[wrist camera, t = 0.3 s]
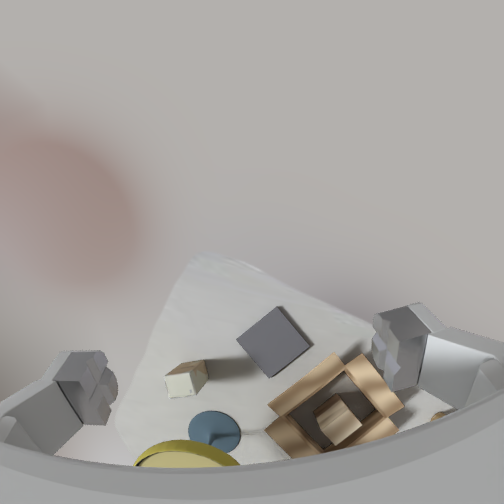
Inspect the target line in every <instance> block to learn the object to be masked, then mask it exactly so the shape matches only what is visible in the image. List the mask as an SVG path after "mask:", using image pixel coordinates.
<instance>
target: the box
mask: <svg viewBox="0 0 504 504" xmlns="http://www.w3.org/2000/svg"><path fill="white" fill-rule="evenodd" d="M208 379H209V377H208V373H207V369H206V365H205V362H204V360H198V361H192V362H186V363H181V364H180V365H179V366H177V367H176V368H175V369H173V370H172V371H171V372H169V373H168V374H167V375H165V376H164V380H165V384H166V388H167V392H168V395H169V398H170V399H174V398H182V397H189V396H195V395H197V394H198V392H199V391H200V390H201V388H202V387H203V386H204V384H205V383H206V382H207V381H208Z"/></svg>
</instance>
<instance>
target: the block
mask: <svg viewBox="0 0 504 504" xmlns="http://www.w3.org/2000/svg"><path fill="white" fill-rule="evenodd" d="M313 412H314V415H315V417H316V419H317V422H318V424H319V427H320V429H321V431H322V432H323V433H324V434H325V435H326V436H327V437H328V438H329V439H330V440H331V441H332V442H333V443H334V445H335V446H336V445H337V444H338V443H340V442H341V441H342V440H344V439H345V438H346V437H348V436H349V435H350V434H352V433H353V432H354V431H355V430H357V429H358V428H359V427H360V426H362V424H361V423H360V421H359V420H358V419H357V417H356V416H355V415H354V413H353V412H352V411H351V410H350V408H349V407H348V406H347V405H346V404H345V402H344V401H343V400H342V399H341V398H340V397H339V395H338V394H337V393H336V394H335V395H334V396H332V397H331V398H330V399H329V400H327V401H326V402H325V403H324V404H322V405H321V406H320V407H318V408H317V409H316V410H315V411H313Z"/></svg>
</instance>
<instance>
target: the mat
mask: <svg viewBox="0 0 504 504" xmlns="http://www.w3.org/2000/svg"><path fill="white" fill-rule="evenodd" d="M236 340H237V341H238V343H239V344H240V345H241V346H242V347H243V349H244V350H245V351H246V352H247V353H248V354H249V356H250V357H251V358H252V359H253V360H254V362H255V363H256V364H257V365H258V366H259V367H260V368H261V370H262V371H263V372H264V373H265V374H266V375H267V377H268V378H271V377H272V376H273V375H274V374H276V373H277V372H278V371H280V370H281V369H282V368H283V367H285V366H286V365H287V364H288V363H290V362H291V361H292V360H294V359H295V358H296V357H297V356H298V355H300V354H301V353H302V352H303V351H305V350H306V349H307V348H308V347H309V345H308V344H307V342H306V341H305V340H304V339H303V338H302V336H301V335H300V334H299V333H298V332H297V330H296V329H295V328H294V327H293V326H292V324H291V323H290V322H289V321H288V320H287V318H286V317H285V316H284V315H283V314H282V312H281V311H280V310H279V309H278V308H277V307H276V308H275V309H273V310H272V311H271V312H270V313H268V314H267V315H266V316H265V317H264V318H262V319H261V320H260V321H259V322H257V323H256V324H255V325H254V326H252V327H251V328H250V329H249V330H247V331H246V332H245V333H244V334H242V335H241V336H240V337H239V338H237V339H236Z"/></svg>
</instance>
